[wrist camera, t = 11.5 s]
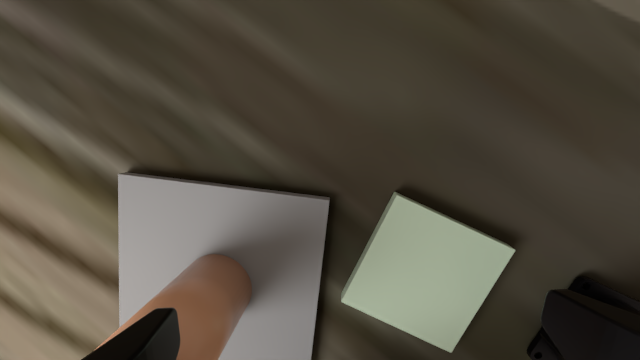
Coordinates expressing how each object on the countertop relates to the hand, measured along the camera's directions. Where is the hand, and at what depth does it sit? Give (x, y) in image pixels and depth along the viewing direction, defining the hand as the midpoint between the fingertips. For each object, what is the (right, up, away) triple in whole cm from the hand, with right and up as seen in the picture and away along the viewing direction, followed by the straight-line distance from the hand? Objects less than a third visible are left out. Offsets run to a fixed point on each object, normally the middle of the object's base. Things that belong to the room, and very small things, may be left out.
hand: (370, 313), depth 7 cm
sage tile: (+6, -3, +13) cm, 15 cm away
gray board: (-8, -4, +15) cm, 17 cm away
